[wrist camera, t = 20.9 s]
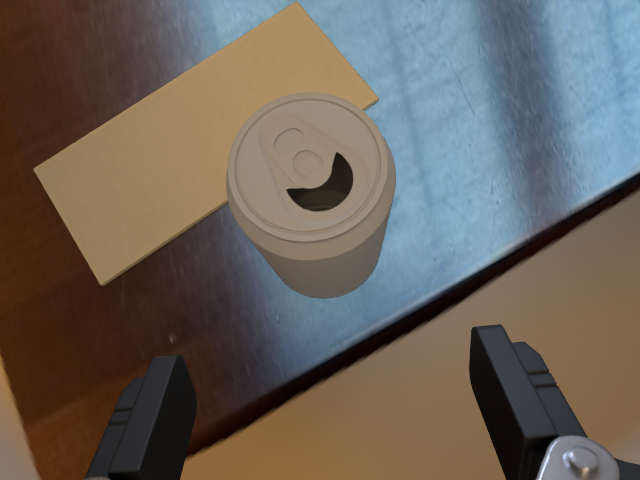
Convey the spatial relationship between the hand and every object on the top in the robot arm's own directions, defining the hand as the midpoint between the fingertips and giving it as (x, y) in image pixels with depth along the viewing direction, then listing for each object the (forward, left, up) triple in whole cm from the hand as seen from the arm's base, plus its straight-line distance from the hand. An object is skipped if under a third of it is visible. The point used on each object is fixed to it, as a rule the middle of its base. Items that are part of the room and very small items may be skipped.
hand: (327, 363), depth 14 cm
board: (+1, +16, -14) cm, 21 cm away
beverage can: (+3, +6, -14) cm, 15 cm away
